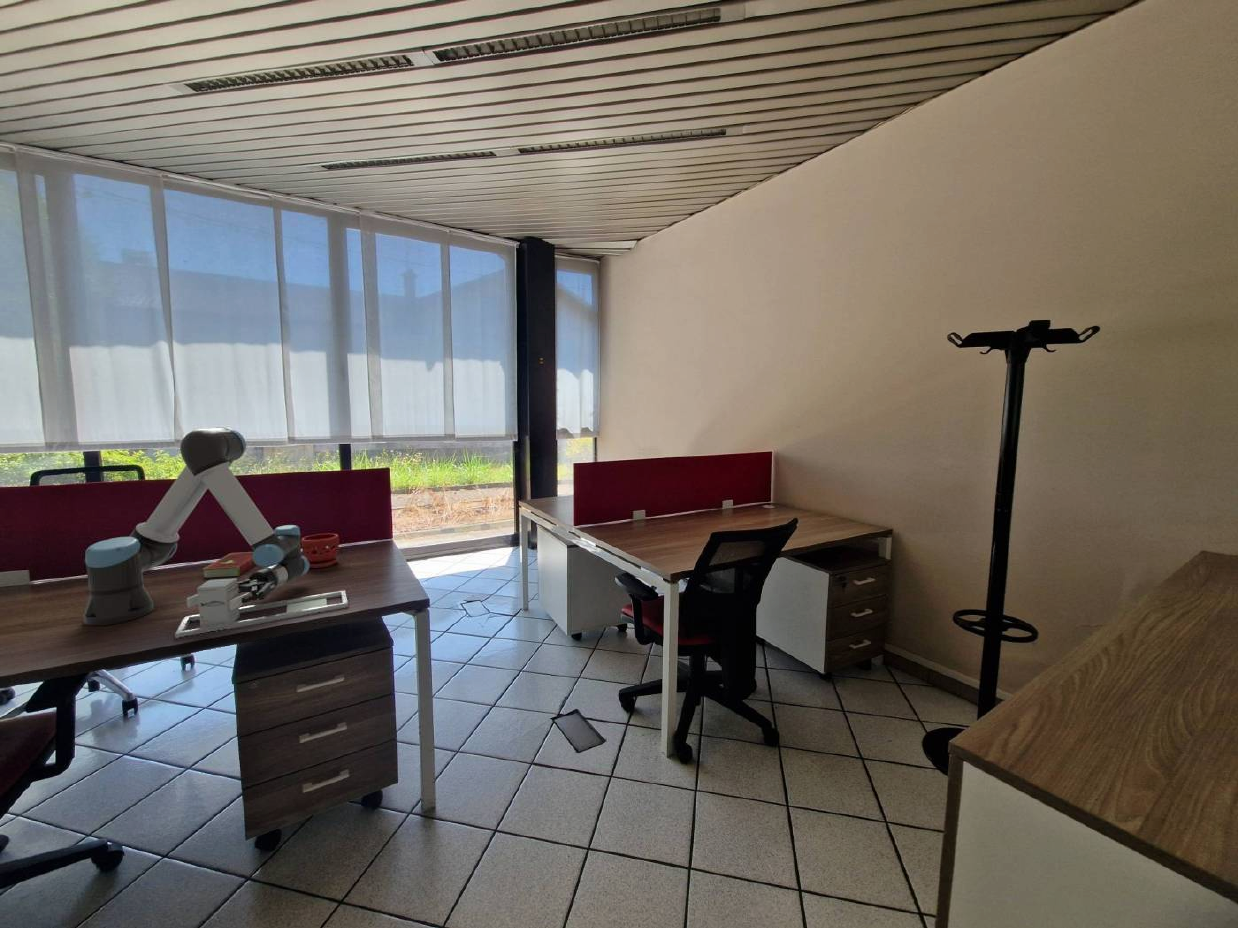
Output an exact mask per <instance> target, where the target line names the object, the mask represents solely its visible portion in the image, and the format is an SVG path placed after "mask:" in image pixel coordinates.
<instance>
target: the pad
mask: <svg viewBox="0 0 1238 928" xmlns="http://www.w3.org/2000/svg"><path fill="white" fill-rule="evenodd" d="M327 601H328V600H327V599H326V598H323V599H317V600H311V601H305V602H299V603H294V604H288V605H286V612H285V613H288V612H293V611H299V610H305V609H310V608H316V607H322V606H327V605H328V603H327Z"/></svg>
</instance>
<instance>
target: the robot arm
mask: <svg viewBox="0 0 1238 928" xmlns="http://www.w3.org/2000/svg"><path fill="white" fill-rule="evenodd" d="M179 450H180V454H181V455H180V456H181V457H182V460H183V462H184V464H185V466H184V467H183V469H182V471H181V472H180V474H179V475H178V476H177V478H176V479H175V481H174V482H173V483H172V485H171V486H170V488H169V489H168V491H167V492H166V493H165V495H164V496H163V498H162V499H161V501H160V502H159V504H158V505H157V506H156V507H155V509H154V511H153V512H152V514H151V515H150V517H149V518H148V519H147V521H145V522H140V523H138V524H137V525H136V526H135V527H134V529H133V531H132V532H131V533H130V535H129V536H120V537H112V538H108V539H104V540H101V541H98V542H95V543H93V544H91V545H90V546H88V548H86V550H85V558H84V563H85V566H86V576H87V585H88V591H89V598H88V601H87V604H86V608H85V611H84V614H83V623H84V625H87V626H93V627H97V626H98V627H99V626H100V627H101V626H108V625H116V624H120V623H125V622H128V621H132V620H136V619H139V618H141V617H144V616H146V615H148V614H150V613H151V612H153V611H154V602H153V599H152V598H151V597H150V595H149V593H148V592H147V589H146V588H145V586H144V577H143V573H144V572H146V571H149V570H151V569H152V568H155V567H158V566H160V565H163V564H164V563H166V562H167V561H169V559H170V560H171V558H172V557H173V556H174V554H175V553H176V552H177V548H178V541H179V540H180V535H179V533H178V532H179V530H180V529H181V528H182V526H183V525H184V524H185V522H186V520H187V519H188V518H189V516H190V515H191V513H192V512H193V510H194V509H195V507H196V506H197V504H198V503H199V502H200V501H201V499H202V497H203V496H204V494H205V493H206V492H207V490H208V491H209V492H210V493H211V494H212V495H213V497H214V499H215V500H216V501H217V502H218V504H219V505H220V506H221V508H222V509H223V510H224V512H225V514H226V515H227V516H228V517H229V519H230V520H231V521H232V523H233V524H234V526H235V528H236V529H238V531H239V533H240V534H241V535H242V536H243V539H245V540H246V542H247V543H248V544H249V546H250V547H251V549H252V550H253V552H254V553H253V561H254V562H255V564H256V566H259V567H261V568H262V569H260V570H256V571H254V572H252V573H251V574H250V575H249V578H247V579H244V580H242V581H240V579H237V584H238V594H241V595H238V597H236V598H234V599H232V600H230V601H229V605H230V610H233V609H235V608H237V607H239V608H240V607H241V606H243V605H245V604H249V602H251V601H253V602H254V601H257V599H258V600H259V601H263V600H265V598H266V597H267V596H268V595H269V594H270V593H271V592H273V591H274V590H276V589H277V588H278V587H279V586H282V585H285V584H287V583H289V582H291V581H293V580H296V579H298V578H300V577H302V576H305V574H306V573H307V572H308V571H309V569H310V567H309V562H308V560H307V558H306V557H304V555H302V544H301V530H300V527H299V526H298V525H295V524H287V525H281V526H277V527H276V528H274V530H273V528H272V527H271V525H270V523H268V521H267V519H265V517H264V516H263V514H262V513H261V511H260V509H258V507H257V506H256V504H255V503H254V501H253V500H252V499H251V497H250V496H249V494H248V493H247V491H246V490H245V489H244V487H243V486H242V485H241V483H240V482H239V480H238V479H237V477H236V476H235V474H234V473H233V472H232V470H231V469H230V467H231V465H232V464H233V462H234V461H237V460H239V459H240V458H241V457H242V456H243V455H244V454H245V452H246V450H247V442H246V440H245V437H244V436H243V435H242V434H241V433H240V432H239V431H238V430H236V429H234V428H230V427H223V426H218V427H214V428H213V427H212V428H200V429H199V428H198V429H195V430H192V431H190V432H188V433H187V434H185V436H184V437H183V438H182V440H181V442H180V449H179ZM242 593H243V594H242ZM186 604H187V608H192V607H194V606H196V605H199V604H198V593H197V594H194V595H193V596H192V595H191V596H189V597H187V598H186Z"/></svg>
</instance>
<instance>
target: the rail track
mask: <svg viewBox="0 0 1238 928" xmlns="http://www.w3.org/2000/svg"><path fill="white" fill-rule="evenodd" d="M338 597H341V600H342V601H341V603H340V602H339V603H334V604H327V606H322V607H316V608H310V609H305V610H299V611H293V612H288V613H286V612H283V613H277V614H272V615H266V616H262V617H261V616H260V617H255V618H249V619H245V620H236V621H234V622H231V623H226V624H220V625H214V626H209V627H203V628H200V627H197V628H193V629H192V628H191V629H187V628H188V626H189V624H190V621H192V622H197V620H198V621H200V616H199V613H198V614H192V615H188V616H184V618H183V619H182V621H181V622H180V625H179V626H178V628H177V630H176V632H175V633H174V637H175V638H177V639H180V638H179V637H183V636H185V635H192V634H198V633H204V632H210V631H216V632H218V631H217V630H221V631H224V630H223V629H227V630H231V628H232V629H237V627H238V628H242V627H247V626H253V625H259V624H263V623H271V622H275V620H276V621H281V620H286V619H292V618H297V617H303V616H308V614H309V615H313V613H314V614H319V613H318V612H320V613H324V612H330V611H336V610H340V609H341V610H342V609H347V608H348V605H349V603H348V598H347V594H346V590H345V589H343V590H339V591H333V592H331V591H330V592H326V593H321V594H315V595H309V596H308V595H307V596H302V597H296V598H291V599H284V600H279V601H270V602H265V603H260V604H253V605H247V606H243V607H241V606H240V607H239V614H242V613H243V614H245V613H250V612H254V611H261V610H267V609H274V608H278V607H285V606H286V607H287V605H288V604H294V603H299V602H305V601H311V600H317V599H323V598H326V600H327V599H331V598H338ZM346 607H347V608H346ZM280 619H281V620H280ZM186 627H187V628H186ZM185 629H186V630H185ZM210 633H211V632H210ZM183 638H184V637H183Z"/></svg>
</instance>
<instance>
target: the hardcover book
mask: <svg viewBox="0 0 1238 928" xmlns="http://www.w3.org/2000/svg"><path fill="white" fill-rule="evenodd" d="M253 553H254V551H248V552H245V551H244V552H231V553H228V554H227V555H225V556H223V557H222V558H221V557H220V558H219V559H218V560H216V561H214V562H212V563H211V564H209V565H207V566H205V567H204V568H201V571H203V575H204V578H205V579H207V578H220V577H221V578H222V577H235V576H236V577H237V576H238V577H239V576H241V575H243V574H244V573H246V572H247V571H249V570H251V569H252V568H253V567H255V566H257V564H255V562H254V561H253Z"/></svg>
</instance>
